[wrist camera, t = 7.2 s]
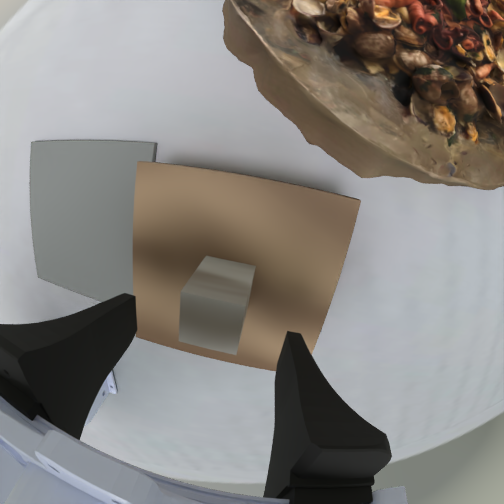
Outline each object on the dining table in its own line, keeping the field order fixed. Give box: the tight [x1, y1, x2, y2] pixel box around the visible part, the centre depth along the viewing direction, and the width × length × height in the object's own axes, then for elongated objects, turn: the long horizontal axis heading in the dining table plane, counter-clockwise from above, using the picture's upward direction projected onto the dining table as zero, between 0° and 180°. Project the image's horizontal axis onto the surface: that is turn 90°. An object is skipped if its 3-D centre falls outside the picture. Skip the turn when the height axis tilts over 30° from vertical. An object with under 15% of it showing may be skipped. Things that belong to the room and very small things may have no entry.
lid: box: [133, 161, 361, 371], centre depth 15 cm, size 13×13×5 cm
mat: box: [30, 140, 157, 302], centre depth 22 cm, size 15×15×1 cm
